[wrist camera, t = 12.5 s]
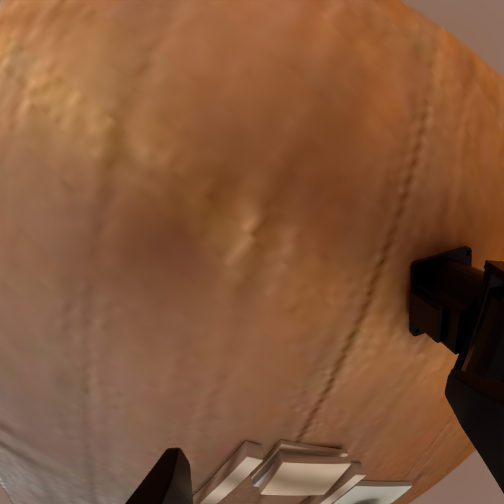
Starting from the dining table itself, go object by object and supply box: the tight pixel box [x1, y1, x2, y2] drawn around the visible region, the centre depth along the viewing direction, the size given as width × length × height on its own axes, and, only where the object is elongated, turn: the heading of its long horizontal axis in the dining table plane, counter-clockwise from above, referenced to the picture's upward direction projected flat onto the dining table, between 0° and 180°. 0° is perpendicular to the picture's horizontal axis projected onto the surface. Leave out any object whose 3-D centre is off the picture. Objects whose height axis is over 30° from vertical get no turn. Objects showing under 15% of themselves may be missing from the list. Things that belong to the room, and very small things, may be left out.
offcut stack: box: [250, 439, 351, 495], centre depth 25 cm, size 7×8×3 cm
